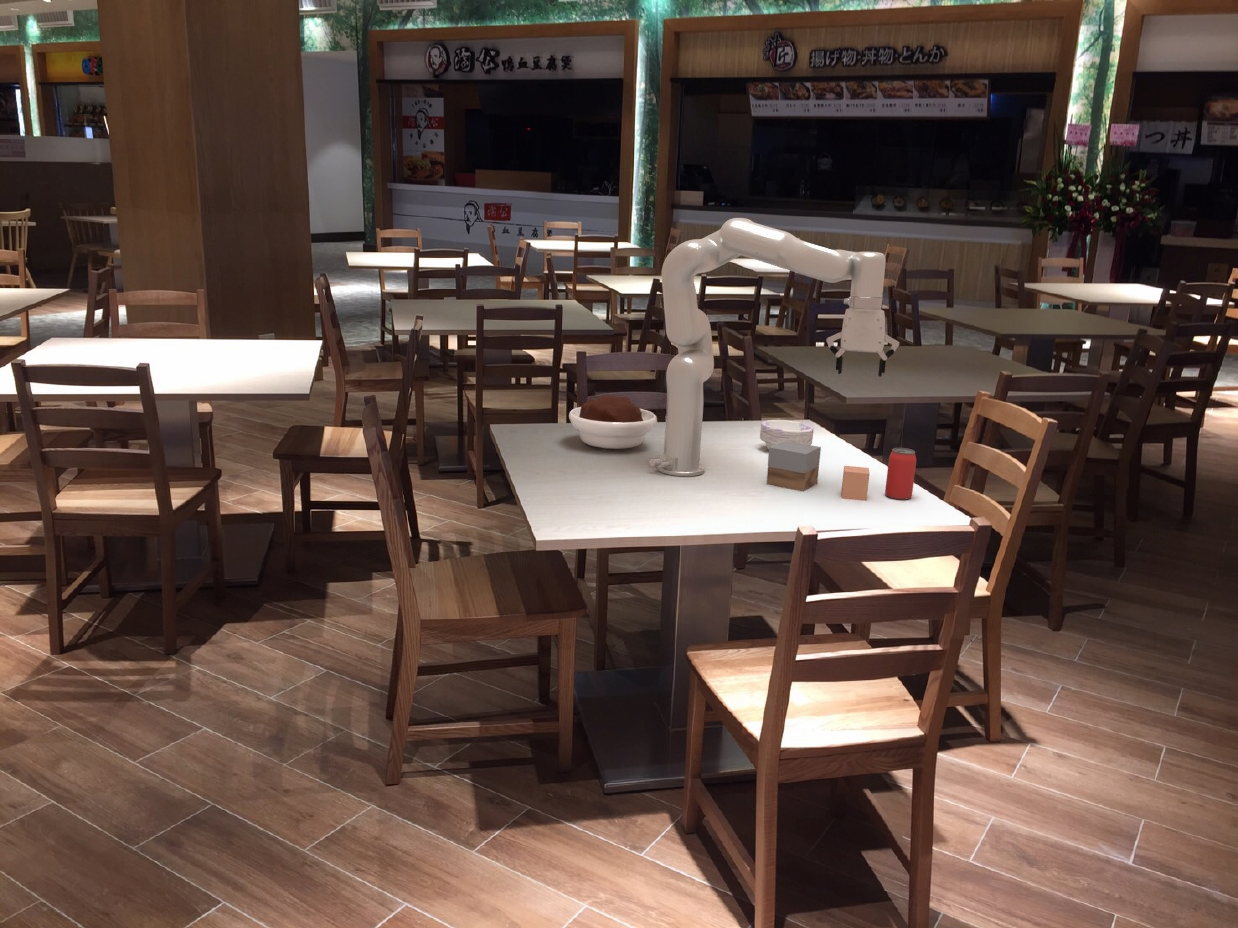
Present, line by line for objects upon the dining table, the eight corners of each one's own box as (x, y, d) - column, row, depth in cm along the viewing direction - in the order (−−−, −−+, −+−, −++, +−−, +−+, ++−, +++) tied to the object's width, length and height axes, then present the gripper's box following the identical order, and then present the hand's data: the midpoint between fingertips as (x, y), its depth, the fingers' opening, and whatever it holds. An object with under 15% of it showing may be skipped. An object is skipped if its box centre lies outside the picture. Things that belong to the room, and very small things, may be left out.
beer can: (882, 492, 261) (887, 446, 258) (908, 493, 261) (913, 448, 258) (887, 499, 254) (893, 452, 251) (914, 501, 254) (920, 454, 251)
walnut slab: (803, 492, 258) (805, 473, 257) (766, 485, 263) (768, 466, 262) (817, 484, 267) (819, 465, 265) (781, 477, 271) (783, 459, 270)
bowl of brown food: (610, 432, 313) (613, 383, 309) (672, 448, 296) (675, 397, 293) (550, 443, 296) (551, 391, 292) (611, 461, 279) (614, 406, 275)
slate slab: (804, 473, 257) (806, 454, 256) (767, 466, 262) (769, 447, 261) (819, 465, 265) (820, 447, 264) (783, 459, 270) (784, 440, 269)
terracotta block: (841, 498, 254) (844, 471, 252) (841, 492, 259) (844, 465, 258) (866, 501, 253) (869, 473, 251) (865, 494, 258) (868, 467, 257)
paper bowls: (822, 454, 298) (825, 427, 296) (783, 459, 290) (786, 432, 288) (786, 443, 310) (788, 417, 308) (748, 447, 302) (750, 421, 300)
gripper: (828, 303, 246) (822, 374, 250) (902, 307, 241) (896, 379, 245) (830, 301, 253) (825, 370, 257) (902, 304, 248) (896, 374, 252)
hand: (859, 374), depth 251 cm, fingers open, 9 cm apart
